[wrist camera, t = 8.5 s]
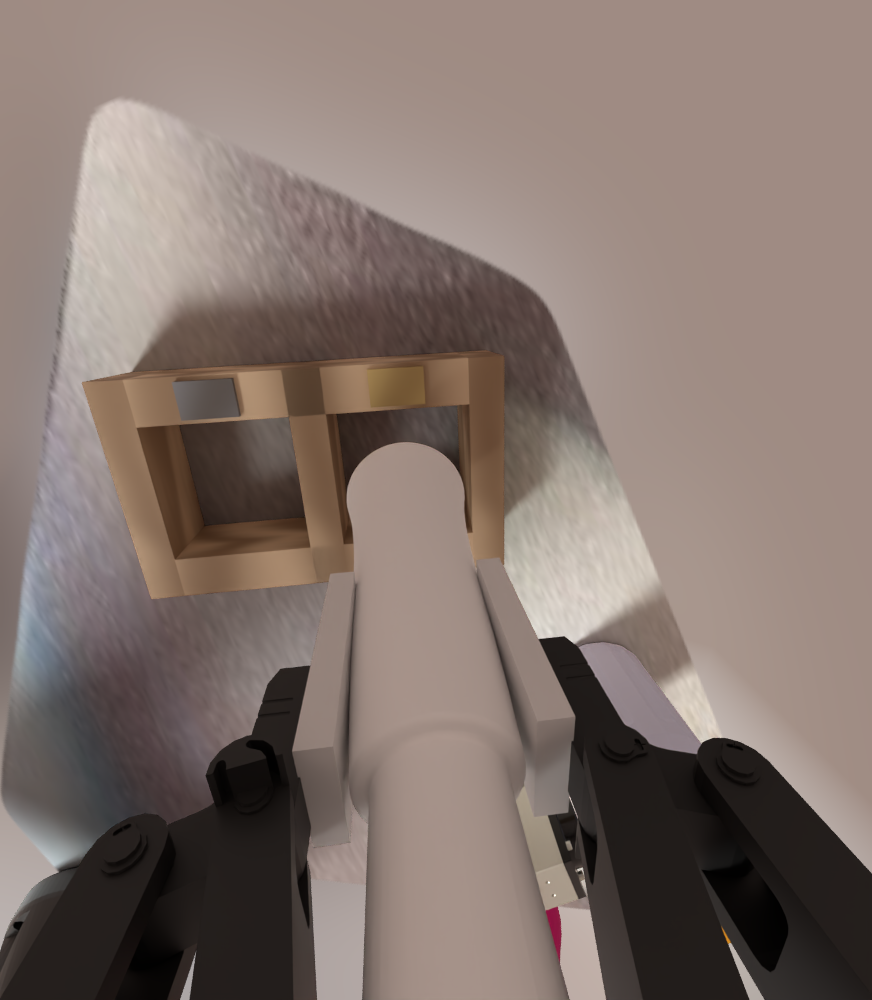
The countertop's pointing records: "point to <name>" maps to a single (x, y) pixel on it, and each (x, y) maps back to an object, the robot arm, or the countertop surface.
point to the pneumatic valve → (553, 853)
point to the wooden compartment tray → (314, 426)
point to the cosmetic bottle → (436, 752)
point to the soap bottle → (639, 699)
